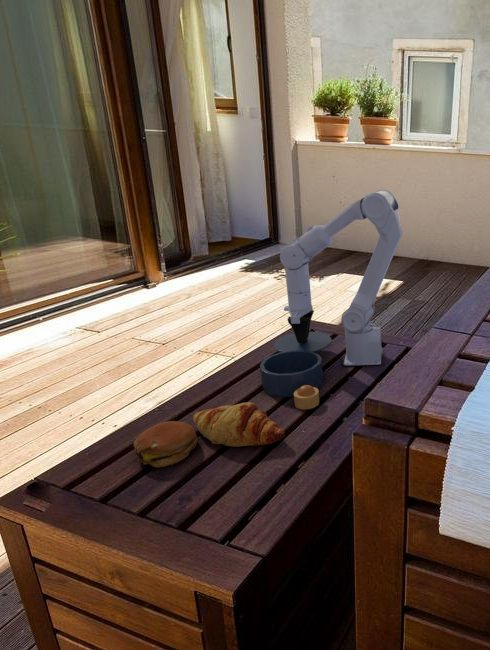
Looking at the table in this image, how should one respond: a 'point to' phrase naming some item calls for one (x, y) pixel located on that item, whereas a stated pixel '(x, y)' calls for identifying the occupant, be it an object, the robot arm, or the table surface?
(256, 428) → the croissant
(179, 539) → the table surface
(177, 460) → the burger
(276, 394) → the pot
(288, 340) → the lid
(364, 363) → the robot arm
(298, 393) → the ball in tan cup
